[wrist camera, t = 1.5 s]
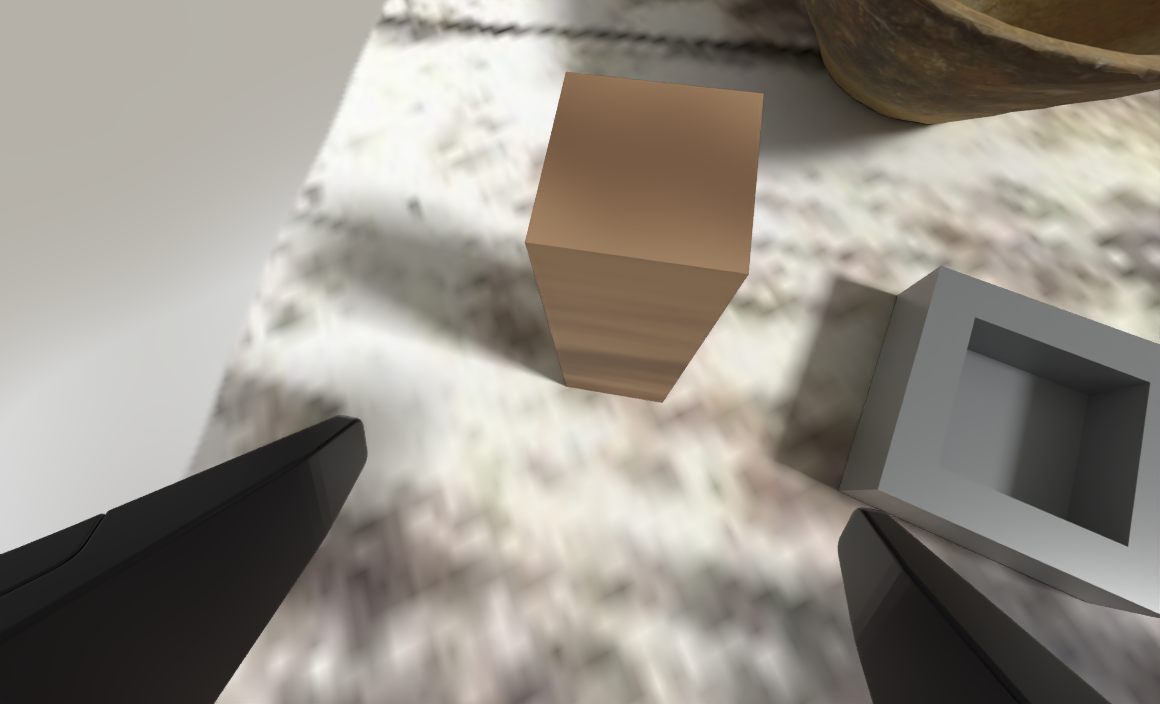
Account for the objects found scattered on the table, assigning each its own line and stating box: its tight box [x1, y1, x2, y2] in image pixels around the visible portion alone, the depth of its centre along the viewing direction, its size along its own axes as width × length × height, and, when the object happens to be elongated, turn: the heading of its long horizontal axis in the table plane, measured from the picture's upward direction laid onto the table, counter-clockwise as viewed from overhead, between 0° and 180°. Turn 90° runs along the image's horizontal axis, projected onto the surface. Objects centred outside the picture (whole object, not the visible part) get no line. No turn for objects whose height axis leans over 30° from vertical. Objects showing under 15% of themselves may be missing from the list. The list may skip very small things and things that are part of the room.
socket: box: [838, 266, 1160, 618], centre depth 19 cm, size 10×10×3 cm
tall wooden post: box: [525, 72, 764, 403], centre depth 16 cm, size 4×4×13 cm
